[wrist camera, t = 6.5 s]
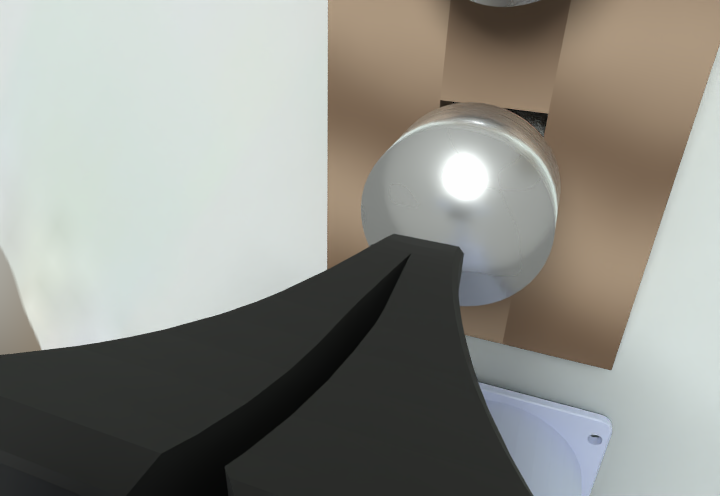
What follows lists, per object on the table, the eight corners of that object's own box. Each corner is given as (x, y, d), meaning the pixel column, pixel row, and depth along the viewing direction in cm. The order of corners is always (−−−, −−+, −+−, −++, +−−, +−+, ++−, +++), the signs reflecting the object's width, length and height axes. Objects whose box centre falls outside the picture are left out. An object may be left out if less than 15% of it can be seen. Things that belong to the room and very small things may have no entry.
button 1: (547, 243, 17) (534, 324, 13) (403, 216, 18) (358, 284, 14) (581, 93, 14) (576, 144, 11) (414, 75, 16) (364, 115, 12)
